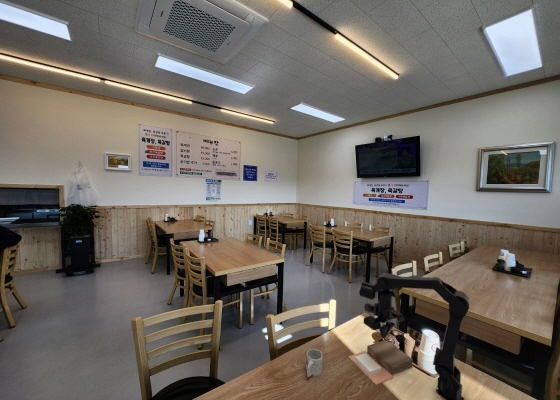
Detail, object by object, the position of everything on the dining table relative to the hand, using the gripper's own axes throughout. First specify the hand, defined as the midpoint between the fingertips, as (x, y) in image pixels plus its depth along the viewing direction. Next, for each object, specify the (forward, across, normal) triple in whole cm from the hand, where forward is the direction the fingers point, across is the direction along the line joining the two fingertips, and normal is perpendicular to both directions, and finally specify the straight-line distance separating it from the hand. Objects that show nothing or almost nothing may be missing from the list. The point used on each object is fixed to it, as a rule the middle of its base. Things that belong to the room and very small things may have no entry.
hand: (383, 337), depth 100 cm
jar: (+12, -21, -18) cm, 30 cm away
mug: (+12, +31, -8) cm, 34 cm away
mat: (+12, +7, -1) cm, 13 cm away
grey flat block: (+9, +8, -1) cm, 12 cm away
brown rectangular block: (+12, -5, -1) cm, 13 cm away
